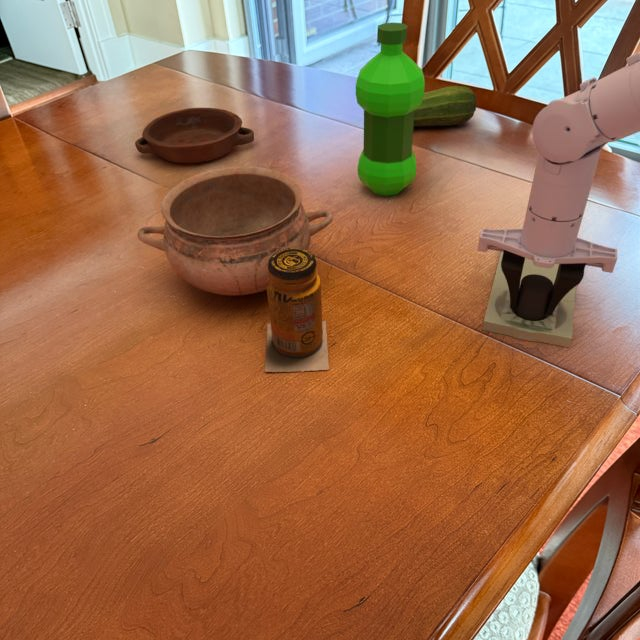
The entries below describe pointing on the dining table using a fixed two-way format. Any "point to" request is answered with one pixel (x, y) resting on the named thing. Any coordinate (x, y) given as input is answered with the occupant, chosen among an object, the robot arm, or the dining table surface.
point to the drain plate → (506, 322)
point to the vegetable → (445, 107)
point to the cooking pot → (232, 227)
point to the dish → (194, 135)
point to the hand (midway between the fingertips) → (531, 306)
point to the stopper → (533, 297)
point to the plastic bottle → (389, 113)
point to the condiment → (295, 314)
